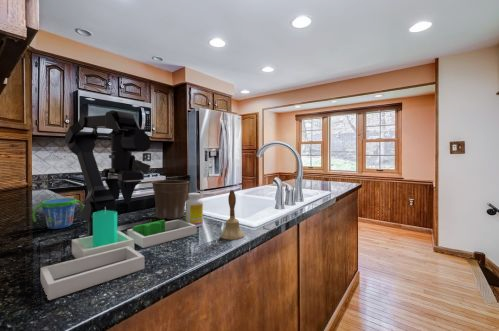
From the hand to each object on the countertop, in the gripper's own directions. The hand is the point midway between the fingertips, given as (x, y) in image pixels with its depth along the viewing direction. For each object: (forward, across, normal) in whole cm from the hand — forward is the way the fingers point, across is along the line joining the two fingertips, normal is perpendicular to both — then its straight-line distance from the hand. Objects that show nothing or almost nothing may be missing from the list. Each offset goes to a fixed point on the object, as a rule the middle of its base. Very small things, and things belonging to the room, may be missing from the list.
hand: (121, 201), depth 75 cm
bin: (+13, -6, +7) cm, 16 cm away
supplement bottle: (+13, 0, -27) cm, 30 cm away
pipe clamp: (+13, -1, -9) cm, 16 cm away
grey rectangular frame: (+13, -18, +12) cm, 25 cm away
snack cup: (+13, +35, +10) cm, 39 cm away
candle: (+12, -6, +6) cm, 15 cm away
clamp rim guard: (+13, -4, -12) cm, 18 cm away
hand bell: (+13, -20, -29) cm, 38 cm away
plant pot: (+13, +20, -28) cm, 37 cm away
